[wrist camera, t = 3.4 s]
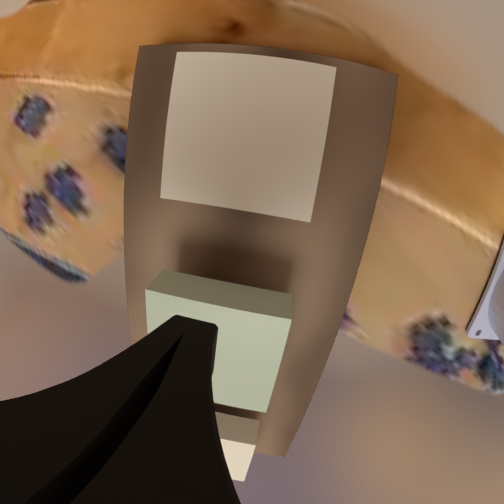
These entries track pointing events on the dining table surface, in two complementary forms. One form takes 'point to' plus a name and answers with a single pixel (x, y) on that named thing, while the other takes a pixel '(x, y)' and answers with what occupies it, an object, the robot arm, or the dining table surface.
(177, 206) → the board
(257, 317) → the key middle
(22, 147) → the dining table surface
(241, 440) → the key
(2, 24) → the dining table surface
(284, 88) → the key
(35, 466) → the robot arm
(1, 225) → the dining table surface
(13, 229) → the dining table surface
